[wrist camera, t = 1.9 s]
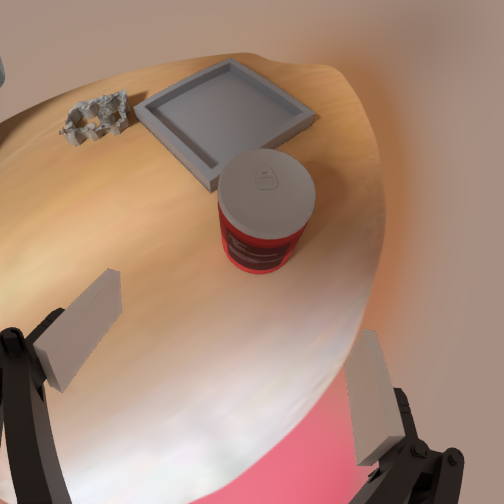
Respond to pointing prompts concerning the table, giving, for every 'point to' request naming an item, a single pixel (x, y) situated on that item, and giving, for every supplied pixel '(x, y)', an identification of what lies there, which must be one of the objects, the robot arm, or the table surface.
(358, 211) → the table surface
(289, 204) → the canned food
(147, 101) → the tray
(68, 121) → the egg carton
